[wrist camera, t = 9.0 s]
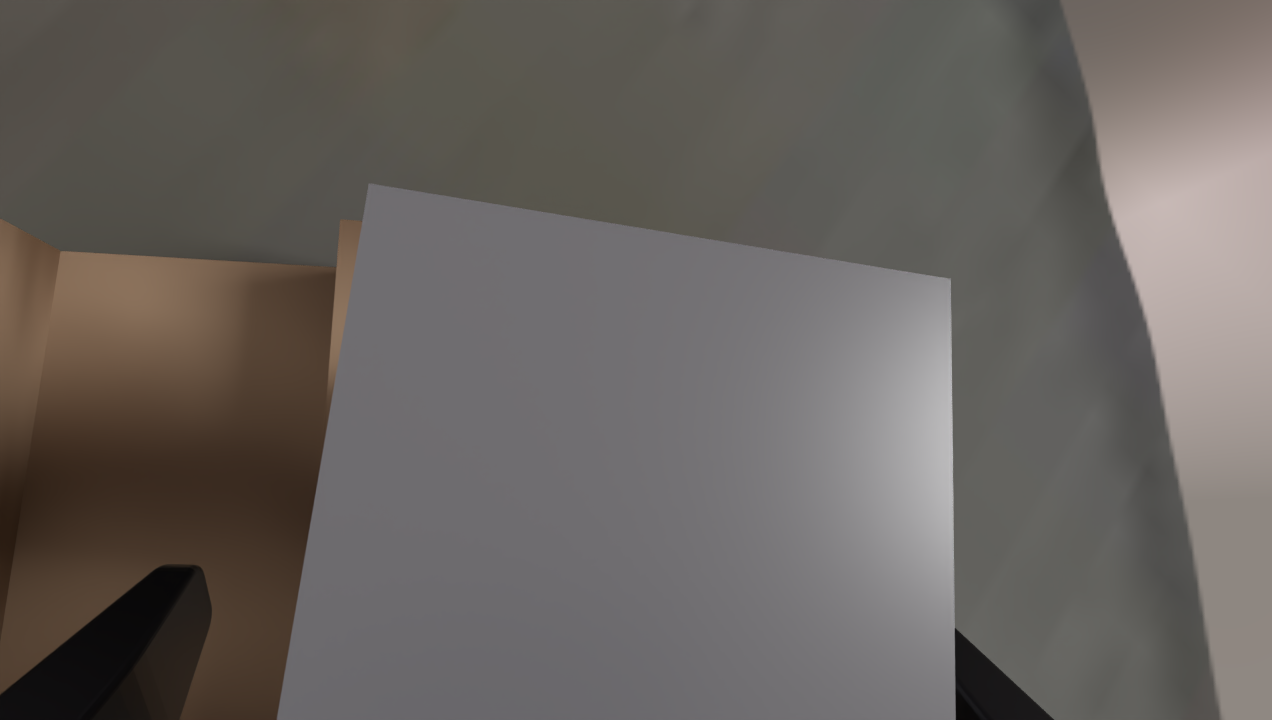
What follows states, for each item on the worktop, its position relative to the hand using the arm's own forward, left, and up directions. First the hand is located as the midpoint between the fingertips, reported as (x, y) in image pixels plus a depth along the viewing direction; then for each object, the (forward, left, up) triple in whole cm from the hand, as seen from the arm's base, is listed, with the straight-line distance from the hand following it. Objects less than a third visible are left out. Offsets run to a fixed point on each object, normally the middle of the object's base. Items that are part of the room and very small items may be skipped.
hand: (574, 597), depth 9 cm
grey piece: (+1, 0, -9) cm, 9 cm away
